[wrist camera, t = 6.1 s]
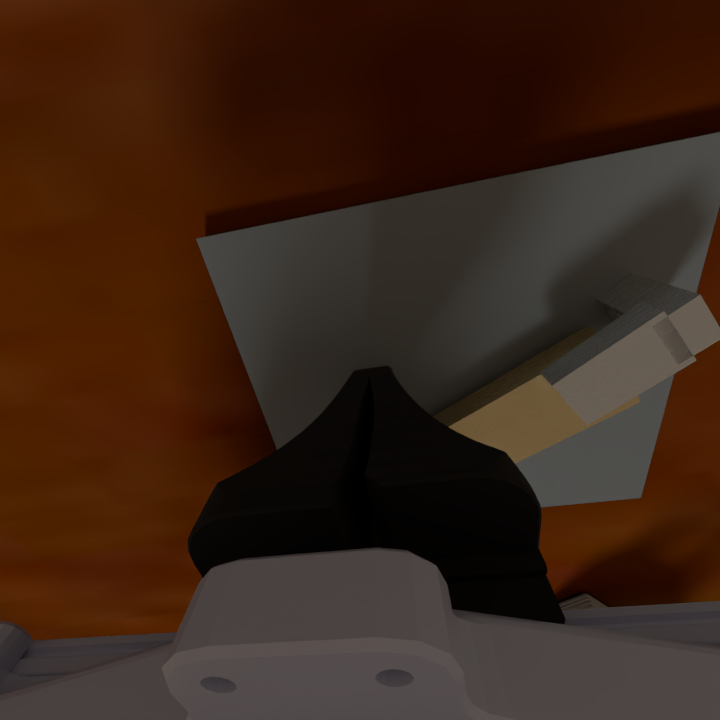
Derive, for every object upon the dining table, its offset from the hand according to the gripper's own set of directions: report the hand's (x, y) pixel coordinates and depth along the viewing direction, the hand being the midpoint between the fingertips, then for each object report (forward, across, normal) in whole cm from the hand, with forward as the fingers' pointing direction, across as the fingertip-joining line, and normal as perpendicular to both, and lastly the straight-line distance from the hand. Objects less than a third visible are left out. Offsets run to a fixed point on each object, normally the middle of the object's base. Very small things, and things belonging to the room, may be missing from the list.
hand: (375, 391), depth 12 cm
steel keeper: (+1, -7, -1) cm, 8 cm away
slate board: (+1, -3, +1) cm, 3 cm away
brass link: (0, -3, +3) cm, 4 cm away
